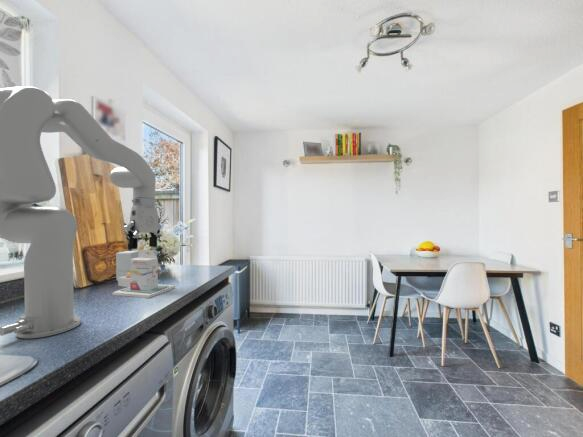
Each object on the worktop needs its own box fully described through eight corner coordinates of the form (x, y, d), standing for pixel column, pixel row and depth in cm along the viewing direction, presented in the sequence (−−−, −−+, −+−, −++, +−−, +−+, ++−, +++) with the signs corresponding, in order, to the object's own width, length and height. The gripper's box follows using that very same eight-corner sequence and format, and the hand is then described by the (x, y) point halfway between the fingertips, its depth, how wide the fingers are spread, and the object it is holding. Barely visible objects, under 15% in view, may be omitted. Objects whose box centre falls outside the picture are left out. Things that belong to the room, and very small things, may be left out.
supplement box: (141, 277, 129) (141, 250, 129) (131, 281, 122) (130, 252, 122) (127, 277, 130) (126, 250, 130) (115, 280, 123) (115, 252, 123)
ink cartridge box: (129, 290, 103) (129, 251, 103) (138, 286, 108) (138, 249, 108) (150, 290, 102) (149, 251, 102) (158, 287, 107) (158, 250, 107)
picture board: (148, 298, 97) (148, 295, 97) (112, 294, 101) (112, 291, 101) (174, 288, 110) (174, 285, 110) (142, 285, 115) (142, 282, 115)
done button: (132, 280, 113) (132, 274, 113) (124, 279, 114) (124, 273, 114) (140, 277, 117) (140, 272, 117) (132, 277, 118) (132, 271, 118)
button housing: (132, 287, 111) (132, 278, 111) (118, 286, 113) (118, 277, 113) (146, 283, 118) (146, 275, 118) (132, 282, 120) (132, 274, 120)
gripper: (133, 201, 96) (133, 250, 96) (168, 204, 113) (167, 246, 112) (116, 201, 98) (116, 249, 98) (152, 204, 114) (152, 245, 114)
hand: (143, 247), depth 105 cm, fingers open, 9 cm apart
